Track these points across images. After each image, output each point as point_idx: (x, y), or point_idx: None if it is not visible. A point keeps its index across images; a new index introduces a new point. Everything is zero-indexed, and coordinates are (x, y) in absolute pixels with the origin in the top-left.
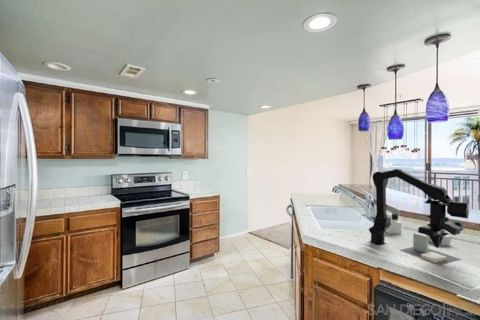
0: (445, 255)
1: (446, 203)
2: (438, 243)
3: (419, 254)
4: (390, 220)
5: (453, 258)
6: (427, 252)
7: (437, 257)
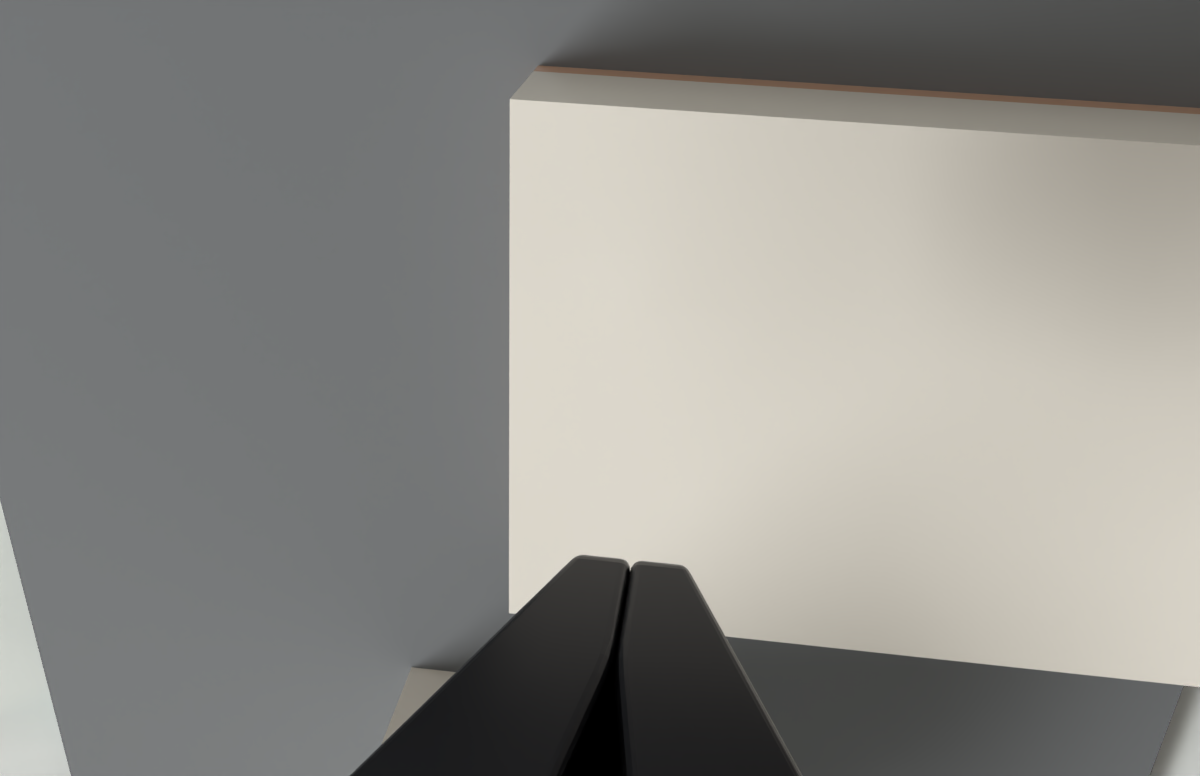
0: (95, 302)
1: None
2: (759, 755)
3: (869, 725)
4: None
5: (80, 17)
6: (448, 676)
7: (1022, 246)
